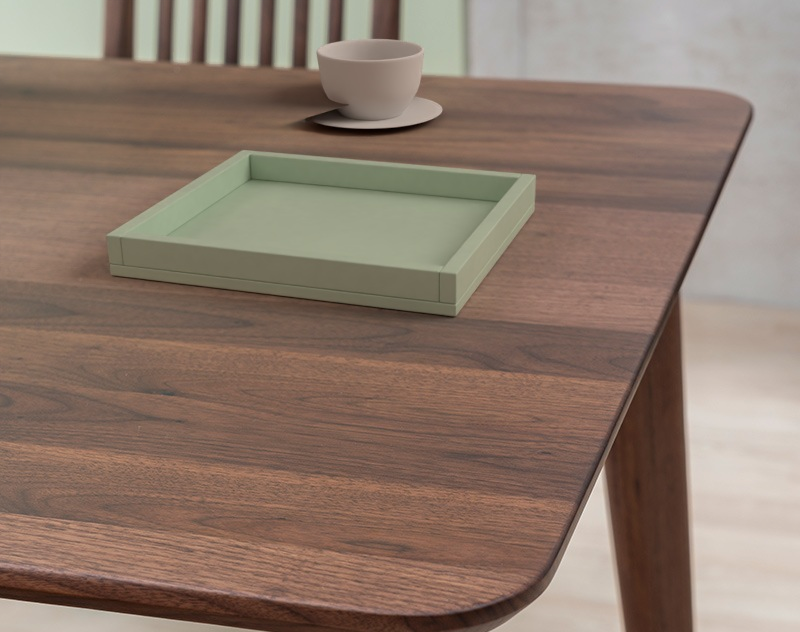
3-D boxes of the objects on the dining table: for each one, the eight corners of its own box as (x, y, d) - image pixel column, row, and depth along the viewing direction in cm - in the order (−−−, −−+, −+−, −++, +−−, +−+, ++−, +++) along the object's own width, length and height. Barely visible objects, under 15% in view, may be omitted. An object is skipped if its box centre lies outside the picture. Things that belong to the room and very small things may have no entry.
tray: (110, 275, 61) (105, 234, 61) (244, 184, 75) (242, 149, 74) (455, 317, 56) (456, 273, 55) (534, 211, 70) (536, 174, 69)
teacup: (436, 136, 84) (436, 65, 81) (288, 134, 85) (285, 63, 82) (447, 100, 92) (447, 35, 90) (313, 98, 93) (310, 34, 91)
